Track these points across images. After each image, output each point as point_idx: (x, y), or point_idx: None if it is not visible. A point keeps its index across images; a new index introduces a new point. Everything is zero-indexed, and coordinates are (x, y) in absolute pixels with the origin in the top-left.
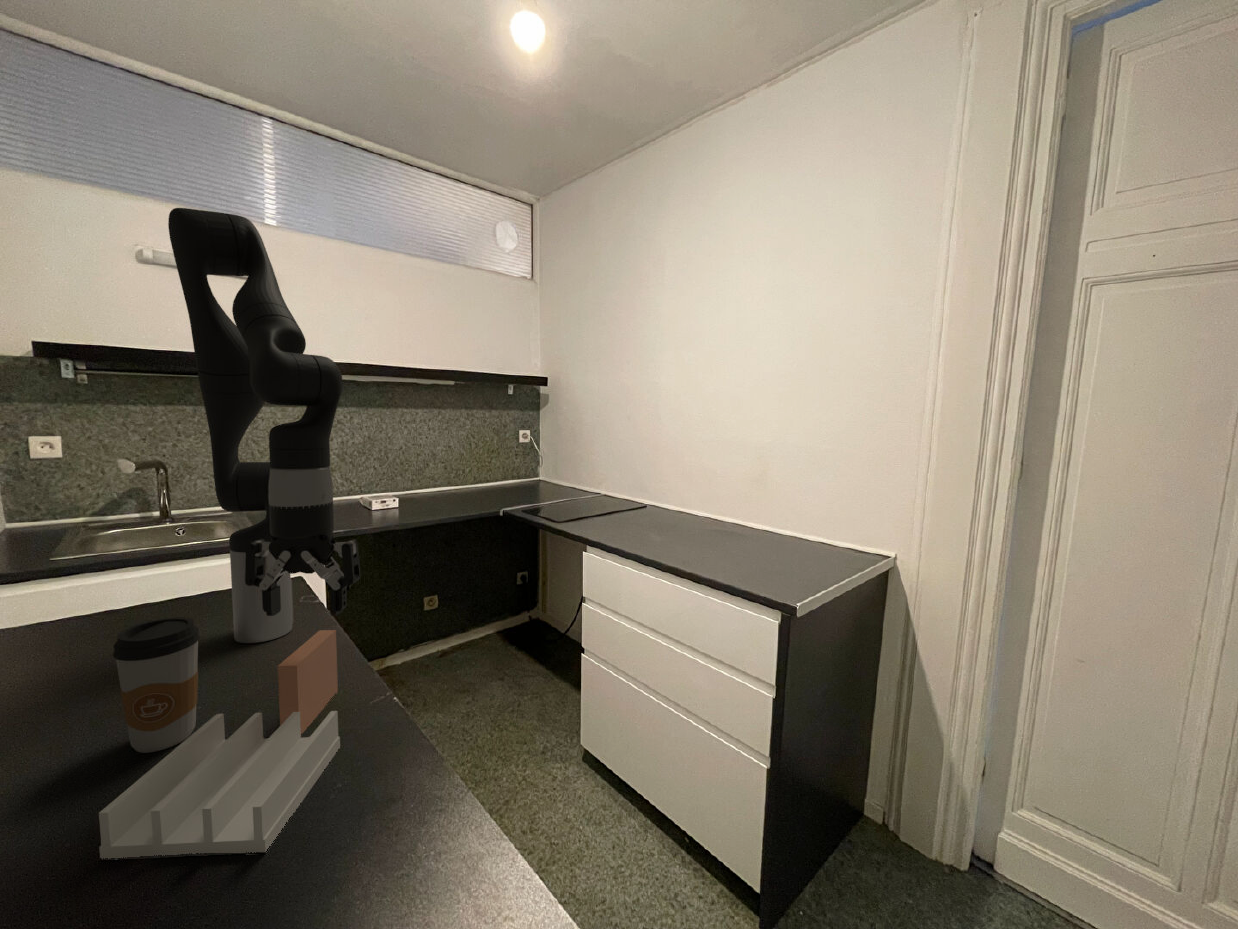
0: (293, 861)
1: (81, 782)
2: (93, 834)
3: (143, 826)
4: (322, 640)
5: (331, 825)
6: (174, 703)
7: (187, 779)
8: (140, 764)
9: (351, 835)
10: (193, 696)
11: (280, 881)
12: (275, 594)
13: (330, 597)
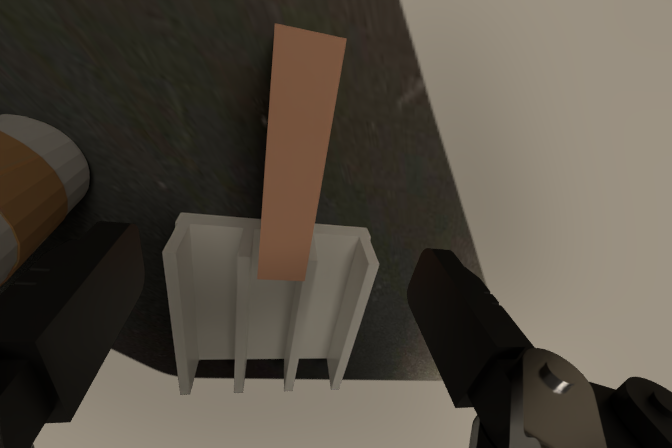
0: (358, 351)
1: None
2: (149, 323)
3: (210, 344)
4: (321, 138)
5: (380, 326)
6: (42, 240)
7: (238, 365)
8: (75, 226)
9: (399, 335)
10: (46, 198)
11: (354, 362)
12: (85, 346)
13: (439, 371)
